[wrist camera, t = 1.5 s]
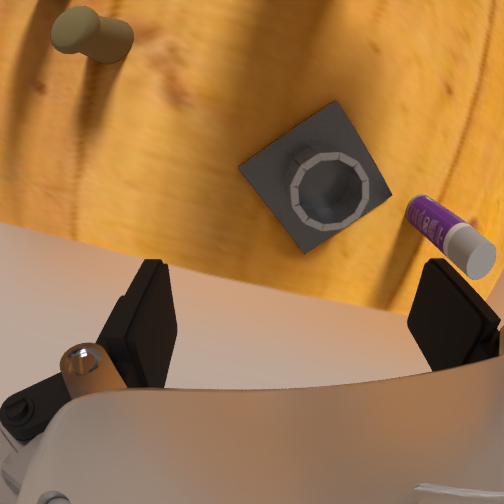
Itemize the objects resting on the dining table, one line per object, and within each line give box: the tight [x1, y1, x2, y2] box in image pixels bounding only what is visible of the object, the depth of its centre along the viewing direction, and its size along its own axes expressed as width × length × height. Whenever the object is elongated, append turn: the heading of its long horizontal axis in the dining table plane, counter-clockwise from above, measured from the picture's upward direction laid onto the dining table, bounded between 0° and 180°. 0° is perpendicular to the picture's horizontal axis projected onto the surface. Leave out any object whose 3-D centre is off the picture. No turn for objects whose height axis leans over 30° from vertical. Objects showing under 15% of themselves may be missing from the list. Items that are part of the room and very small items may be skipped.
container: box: [406, 195, 496, 280], centre depth 33 cm, size 5×5×15 cm
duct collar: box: [238, 101, 392, 254], centre depth 35 cm, size 14×14×6 cm
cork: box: [51, 6, 134, 64], centre depth 24 cm, size 6×6×11 cm
